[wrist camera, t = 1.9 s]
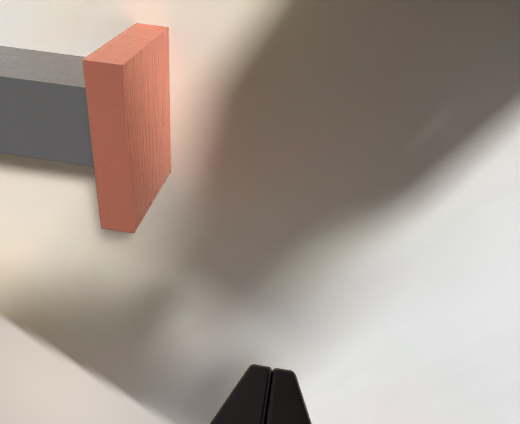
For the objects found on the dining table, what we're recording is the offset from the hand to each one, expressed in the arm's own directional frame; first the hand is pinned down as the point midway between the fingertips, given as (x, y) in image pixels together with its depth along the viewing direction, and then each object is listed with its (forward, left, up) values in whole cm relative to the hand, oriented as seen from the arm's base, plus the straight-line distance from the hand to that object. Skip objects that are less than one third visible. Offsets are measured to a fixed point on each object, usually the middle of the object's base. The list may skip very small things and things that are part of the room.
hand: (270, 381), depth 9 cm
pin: (+10, 0, -12) cm, 16 cm away
